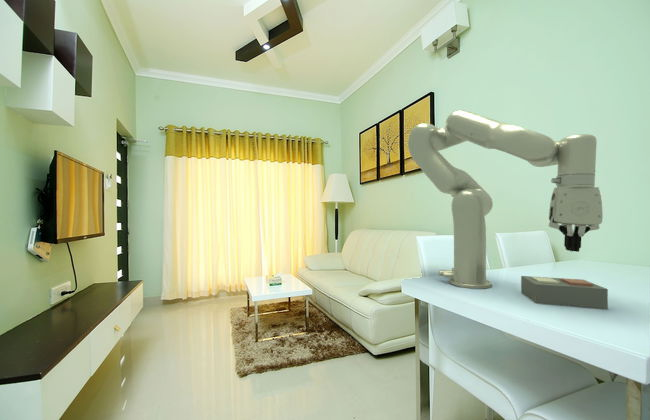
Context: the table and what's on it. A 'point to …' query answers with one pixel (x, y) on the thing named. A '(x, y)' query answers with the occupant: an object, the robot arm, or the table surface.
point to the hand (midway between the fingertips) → (572, 250)
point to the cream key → (545, 280)
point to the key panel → (565, 293)
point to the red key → (576, 282)
